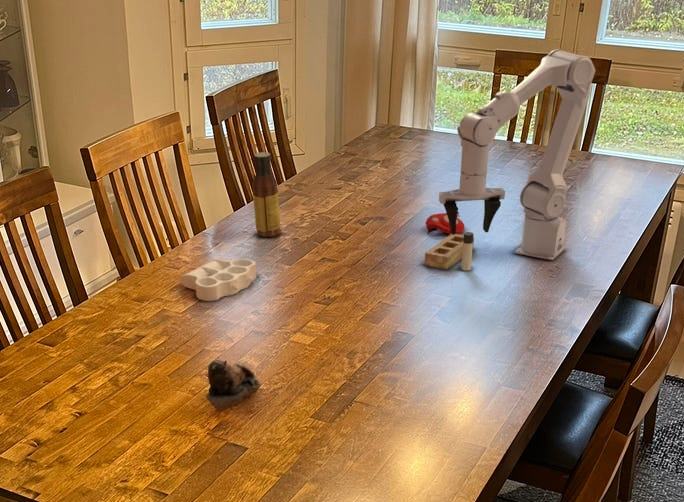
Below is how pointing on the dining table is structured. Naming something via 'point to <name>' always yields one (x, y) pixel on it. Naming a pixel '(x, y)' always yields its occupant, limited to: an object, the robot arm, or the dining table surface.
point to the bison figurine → (229, 384)
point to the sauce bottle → (265, 197)
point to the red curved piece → (444, 223)
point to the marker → (467, 251)
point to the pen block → (446, 252)
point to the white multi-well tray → (220, 278)
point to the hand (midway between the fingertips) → (469, 231)
